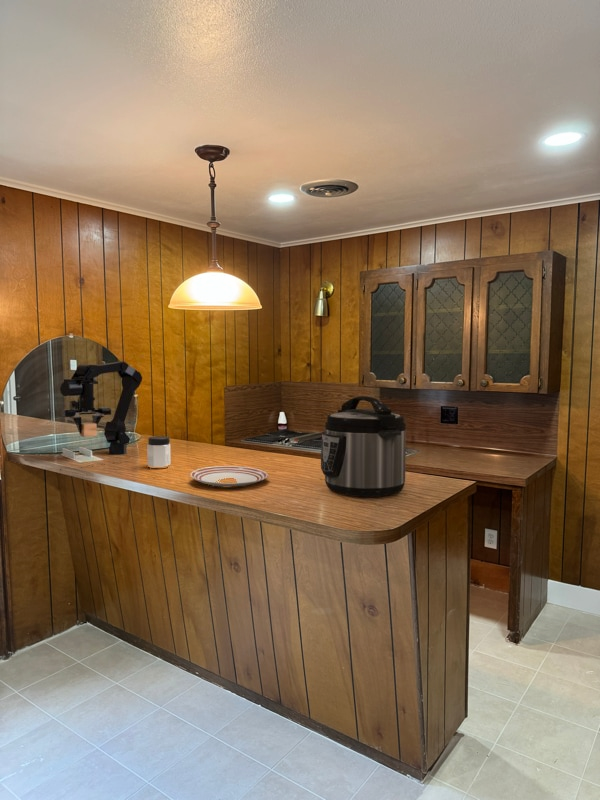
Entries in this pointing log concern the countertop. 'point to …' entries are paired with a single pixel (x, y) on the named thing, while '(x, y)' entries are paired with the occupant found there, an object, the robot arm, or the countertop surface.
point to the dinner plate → (228, 475)
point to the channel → (80, 458)
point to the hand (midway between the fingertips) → (86, 432)
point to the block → (88, 429)
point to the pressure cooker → (364, 450)
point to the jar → (158, 451)
